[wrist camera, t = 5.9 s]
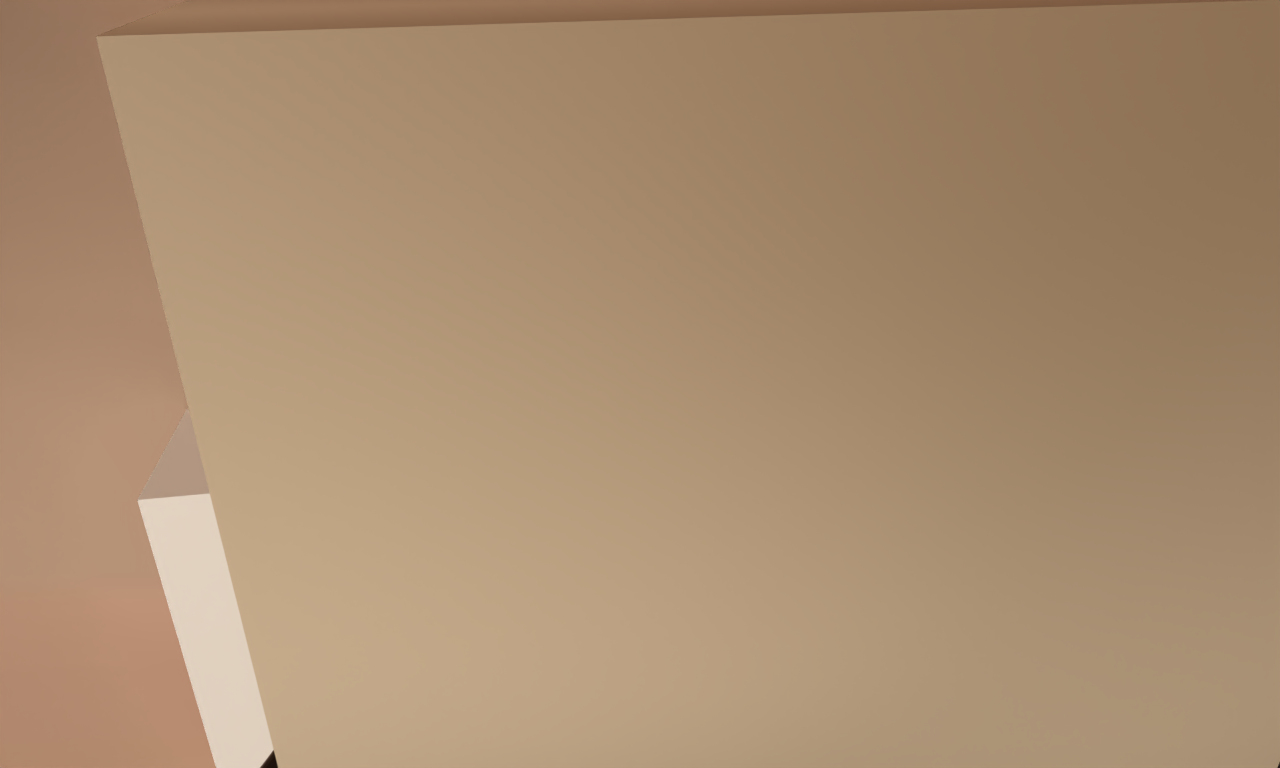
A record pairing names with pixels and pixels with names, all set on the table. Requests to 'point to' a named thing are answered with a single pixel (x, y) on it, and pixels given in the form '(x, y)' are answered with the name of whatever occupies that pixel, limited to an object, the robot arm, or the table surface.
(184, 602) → the white slotted block
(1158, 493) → the tan elongated block
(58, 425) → the table surface
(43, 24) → the table surface
